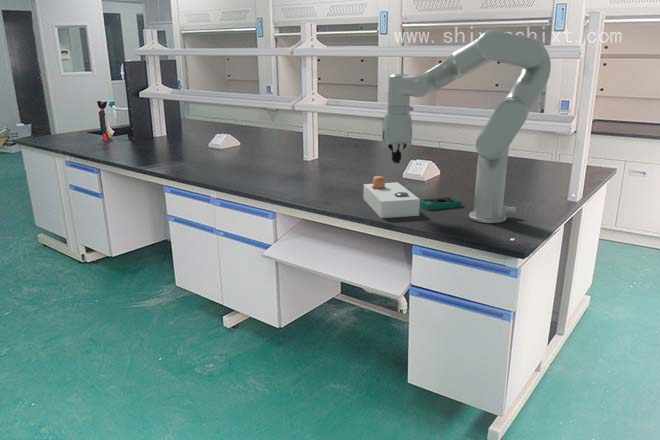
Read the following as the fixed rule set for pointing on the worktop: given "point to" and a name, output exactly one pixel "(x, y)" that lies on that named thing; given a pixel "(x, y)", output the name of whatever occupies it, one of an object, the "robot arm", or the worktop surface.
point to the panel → (391, 201)
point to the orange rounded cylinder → (378, 182)
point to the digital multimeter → (440, 203)
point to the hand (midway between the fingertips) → (396, 162)
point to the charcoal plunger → (401, 194)
